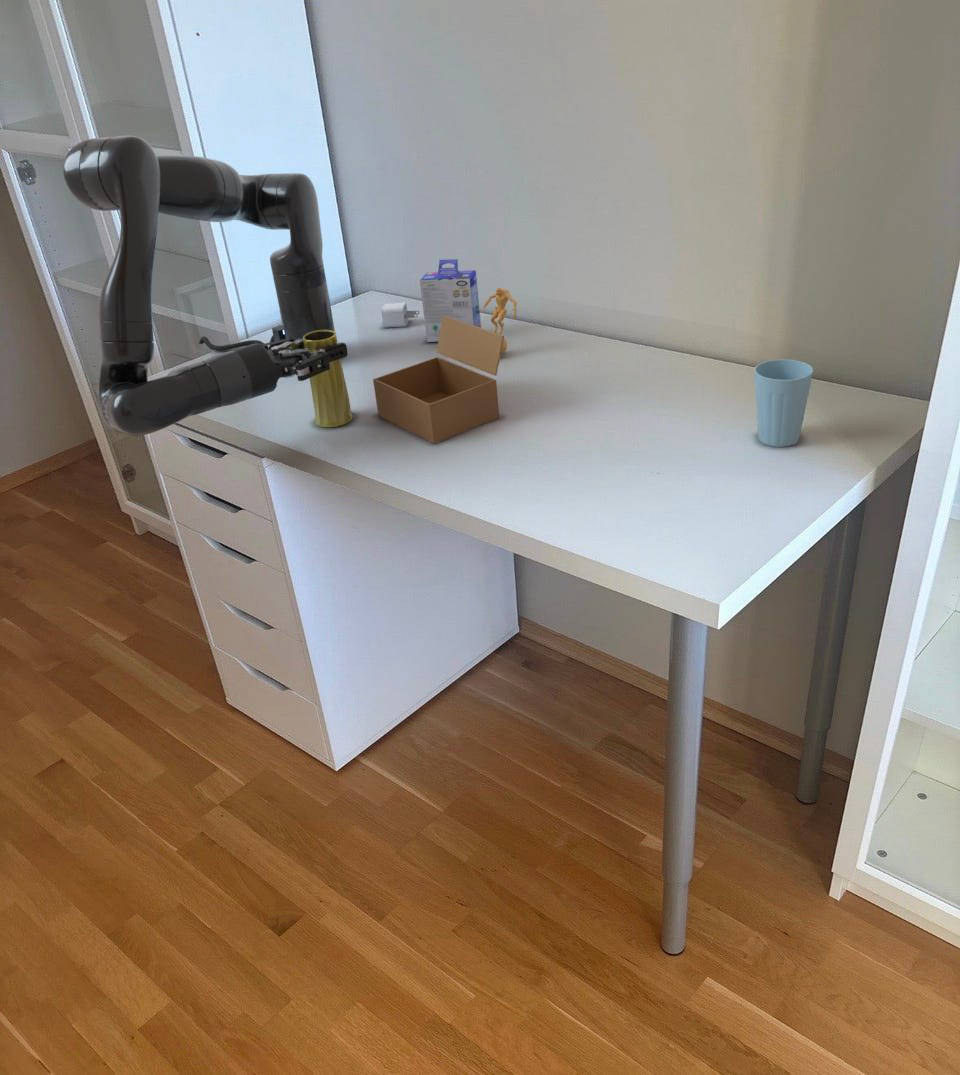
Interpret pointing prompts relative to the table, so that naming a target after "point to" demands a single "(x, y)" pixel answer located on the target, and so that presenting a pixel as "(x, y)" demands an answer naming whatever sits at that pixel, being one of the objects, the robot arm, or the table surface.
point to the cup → (781, 400)
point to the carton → (436, 399)
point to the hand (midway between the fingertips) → (335, 344)
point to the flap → (470, 345)
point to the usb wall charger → (396, 315)
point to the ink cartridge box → (449, 298)
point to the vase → (328, 384)
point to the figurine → (501, 311)
